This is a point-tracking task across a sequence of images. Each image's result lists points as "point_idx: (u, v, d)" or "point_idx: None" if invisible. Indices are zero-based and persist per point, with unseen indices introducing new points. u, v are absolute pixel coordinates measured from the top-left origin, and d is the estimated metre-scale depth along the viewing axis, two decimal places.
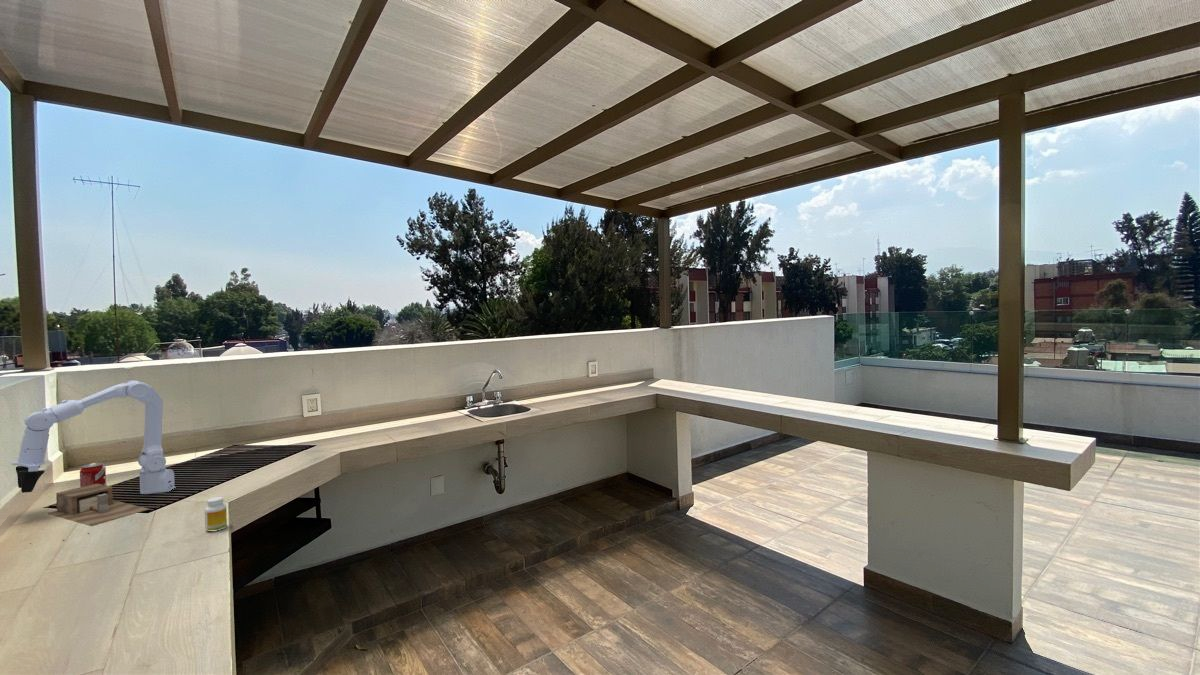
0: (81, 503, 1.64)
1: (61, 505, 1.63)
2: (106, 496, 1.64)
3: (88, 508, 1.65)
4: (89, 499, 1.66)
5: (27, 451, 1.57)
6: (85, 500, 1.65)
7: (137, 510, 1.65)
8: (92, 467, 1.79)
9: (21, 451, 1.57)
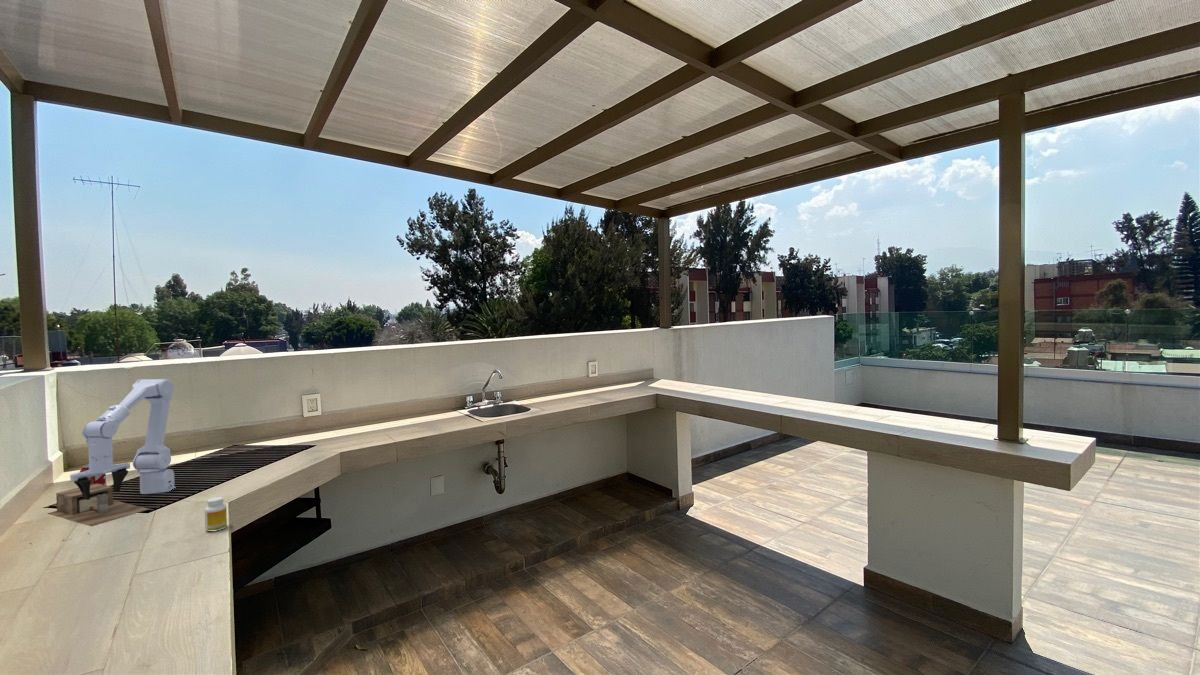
0: (81, 503, 1.64)
1: (61, 505, 1.63)
2: (106, 496, 1.64)
3: (88, 508, 1.65)
4: (89, 499, 1.66)
5: (112, 456, 1.65)
6: (85, 500, 1.65)
7: (137, 510, 1.65)
8: None
9: (109, 458, 1.63)
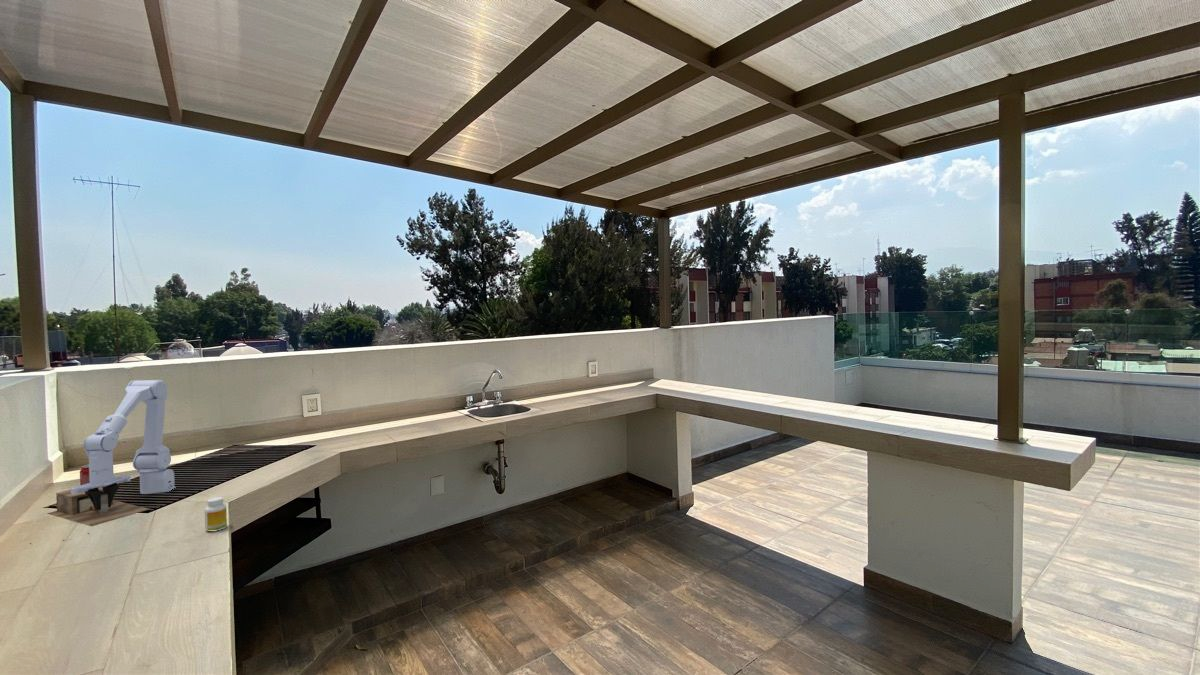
0: (81, 503, 1.64)
1: (61, 505, 1.63)
2: (106, 496, 1.64)
3: (88, 508, 1.65)
4: (89, 499, 1.66)
5: None
6: (85, 500, 1.65)
7: (137, 510, 1.65)
8: None
9: (109, 471, 1.63)
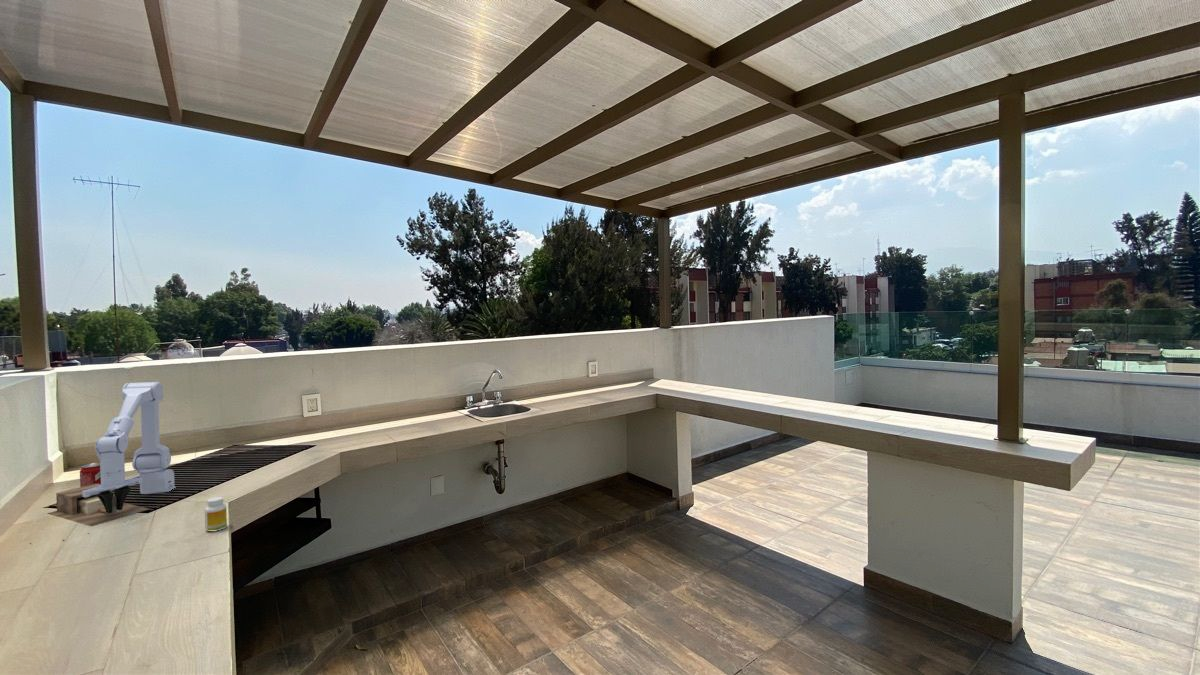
0: (89, 505, 1.62)
1: (61, 505, 1.63)
2: (114, 498, 1.62)
3: (96, 510, 1.64)
4: (97, 501, 1.64)
5: (124, 471, 1.62)
6: (93, 502, 1.63)
7: (137, 510, 1.65)
8: (92, 467, 1.79)
9: (121, 473, 1.61)
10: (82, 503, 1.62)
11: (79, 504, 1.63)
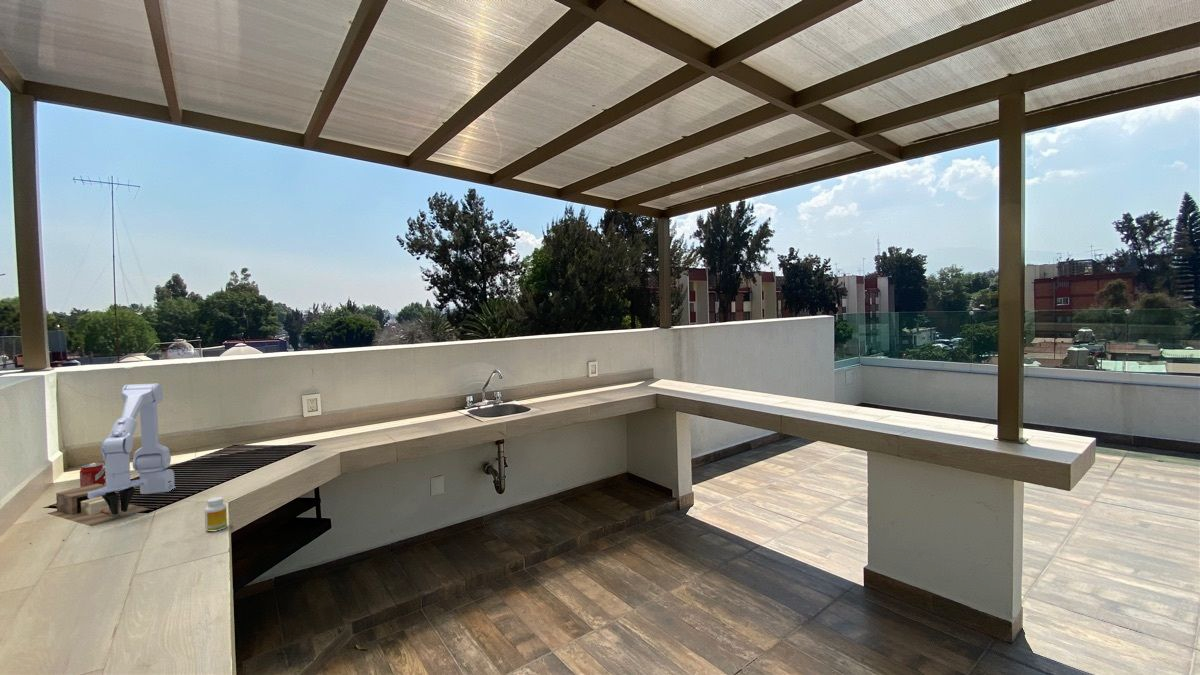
0: (92, 506, 1.61)
1: (61, 505, 1.63)
2: (118, 499, 1.61)
3: (99, 511, 1.63)
4: (100, 502, 1.63)
5: (129, 472, 1.61)
6: (96, 503, 1.62)
7: (137, 510, 1.65)
8: (92, 467, 1.79)
9: (126, 474, 1.59)
10: (85, 504, 1.62)
11: (82, 505, 1.62)
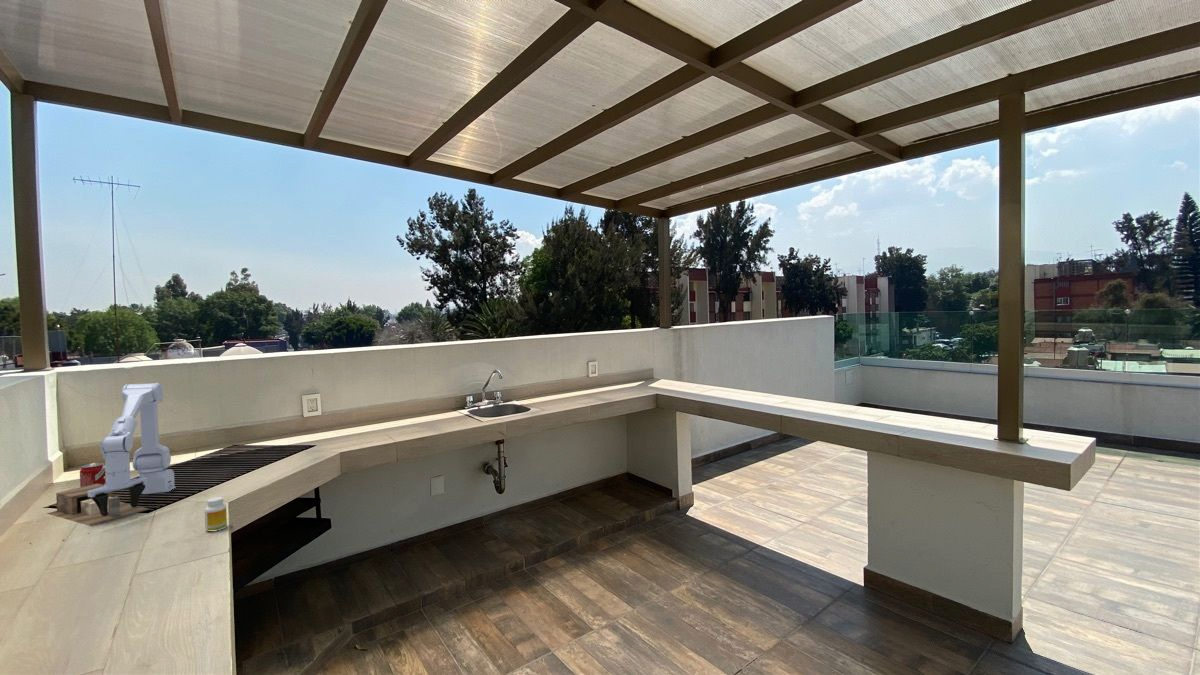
0: (92, 506, 1.61)
1: (61, 505, 1.63)
2: (118, 499, 1.61)
3: (99, 511, 1.63)
4: None
5: (129, 471, 1.61)
6: None
7: (137, 510, 1.65)
8: (92, 467, 1.79)
9: (126, 473, 1.59)
10: (85, 504, 1.62)
11: (82, 505, 1.62)
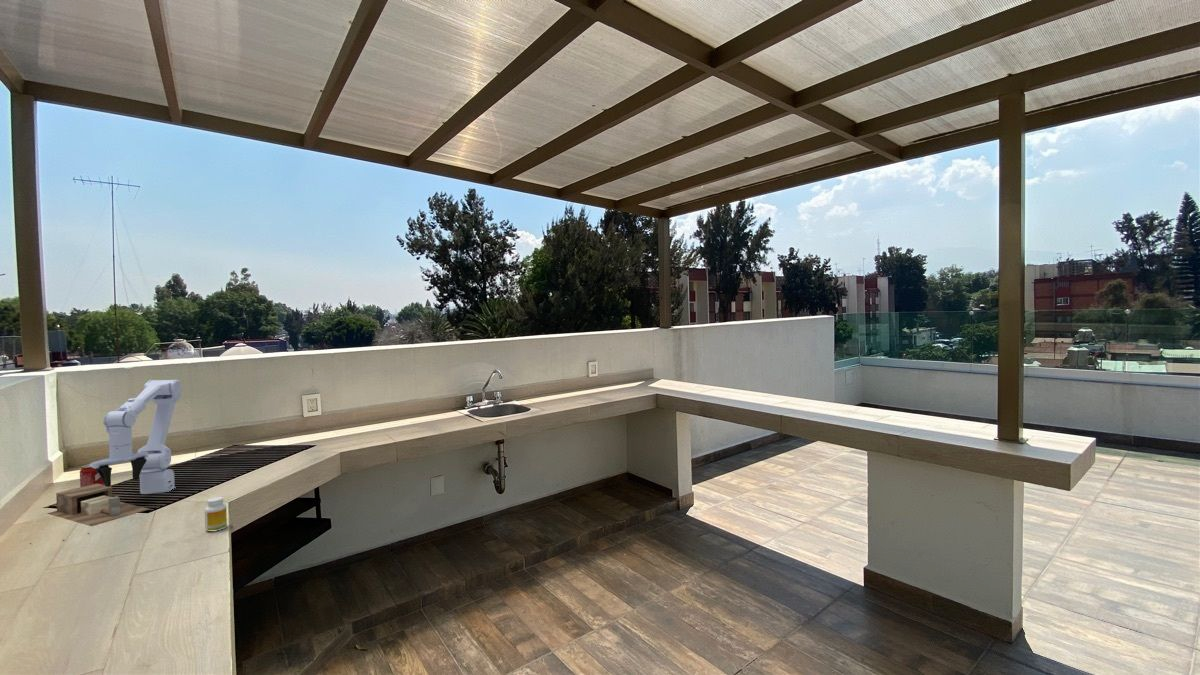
0: (92, 506, 1.61)
1: (61, 505, 1.63)
2: (118, 499, 1.61)
3: (99, 511, 1.63)
4: (100, 502, 1.63)
5: None
6: (96, 503, 1.62)
7: (137, 510, 1.65)
8: None
9: (128, 446, 1.68)
10: (85, 504, 1.62)
11: (82, 505, 1.62)
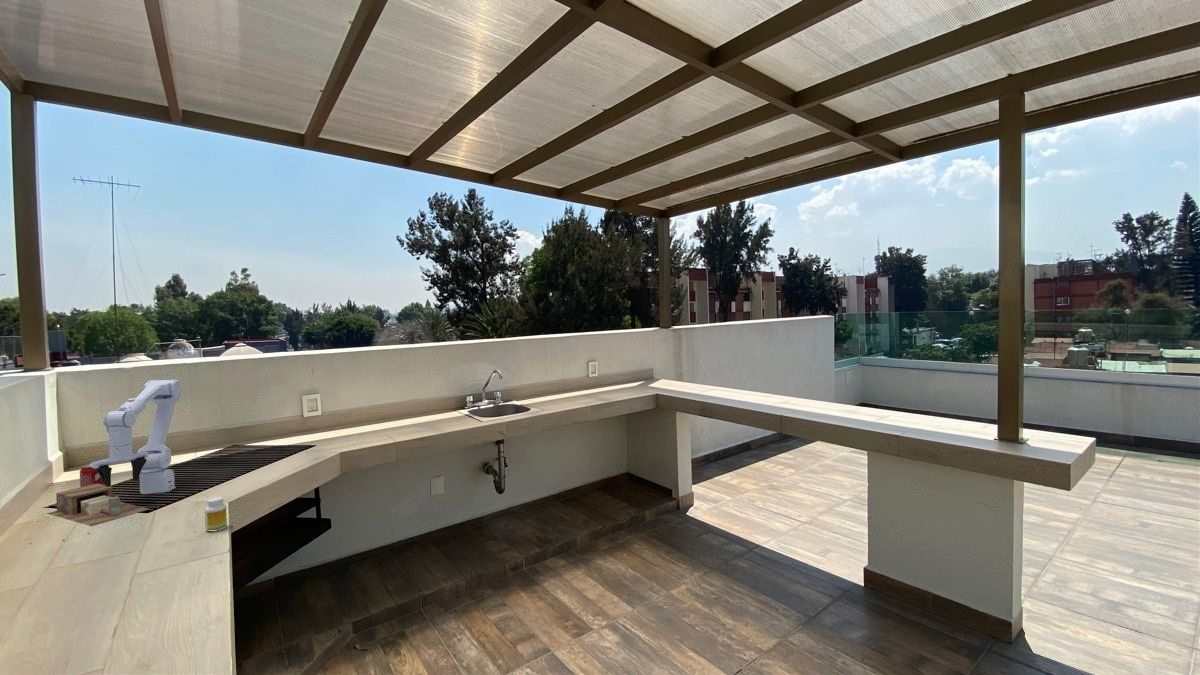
0: (92, 506, 1.61)
1: (61, 505, 1.63)
2: (118, 499, 1.61)
3: (99, 511, 1.63)
4: (100, 502, 1.63)
5: None
6: (96, 503, 1.62)
7: (137, 510, 1.65)
8: None
9: (128, 446, 1.68)
10: (85, 504, 1.62)
11: (82, 505, 1.62)
